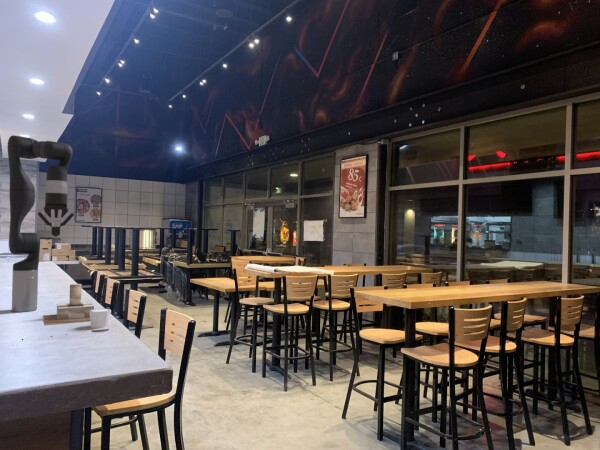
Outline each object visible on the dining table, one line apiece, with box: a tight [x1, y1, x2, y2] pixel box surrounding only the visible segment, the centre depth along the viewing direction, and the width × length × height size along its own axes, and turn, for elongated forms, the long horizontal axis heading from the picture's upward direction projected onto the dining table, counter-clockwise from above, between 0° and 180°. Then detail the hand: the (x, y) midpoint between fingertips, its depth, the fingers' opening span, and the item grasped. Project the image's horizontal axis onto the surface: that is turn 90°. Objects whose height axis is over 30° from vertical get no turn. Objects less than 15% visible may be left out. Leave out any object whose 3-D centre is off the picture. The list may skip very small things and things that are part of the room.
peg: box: [68, 283, 83, 307], centre depth 166 cm, size 4×4×12 cm
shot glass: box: [89, 308, 112, 333], centre depth 149 cm, size 7×7×7 cm
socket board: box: [42, 301, 95, 326], centre depth 161 cm, size 20×17×6 cm
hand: (55, 236), depth 169 cm, fingers closed
